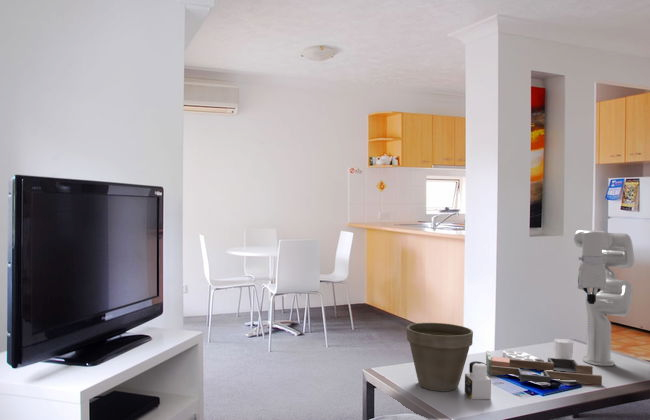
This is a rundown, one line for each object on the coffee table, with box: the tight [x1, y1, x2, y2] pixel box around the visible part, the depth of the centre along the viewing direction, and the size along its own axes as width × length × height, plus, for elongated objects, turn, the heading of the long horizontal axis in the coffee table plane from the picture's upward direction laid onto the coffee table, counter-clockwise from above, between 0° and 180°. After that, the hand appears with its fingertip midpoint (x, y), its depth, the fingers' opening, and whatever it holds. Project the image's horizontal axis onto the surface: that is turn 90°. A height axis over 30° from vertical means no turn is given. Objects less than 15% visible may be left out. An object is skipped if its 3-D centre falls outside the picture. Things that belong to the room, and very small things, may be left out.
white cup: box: [553, 338, 574, 360], centre depth 229 cm, size 8×8×10 cm
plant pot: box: [406, 322, 474, 392], centre depth 195 cm, size 25×25×22 cm
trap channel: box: [485, 350, 603, 386], centre depth 211 cm, size 30×42×6 cm
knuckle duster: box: [502, 350, 545, 362], centre depth 229 cm, size 3×18×15 cm
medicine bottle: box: [464, 360, 492, 401], centre depth 184 cm, size 7×7×12 cm
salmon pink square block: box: [491, 356, 510, 367], centre depth 217 cm, size 7×7×4 cm
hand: (591, 303), depth 216 cm, fingers closed
